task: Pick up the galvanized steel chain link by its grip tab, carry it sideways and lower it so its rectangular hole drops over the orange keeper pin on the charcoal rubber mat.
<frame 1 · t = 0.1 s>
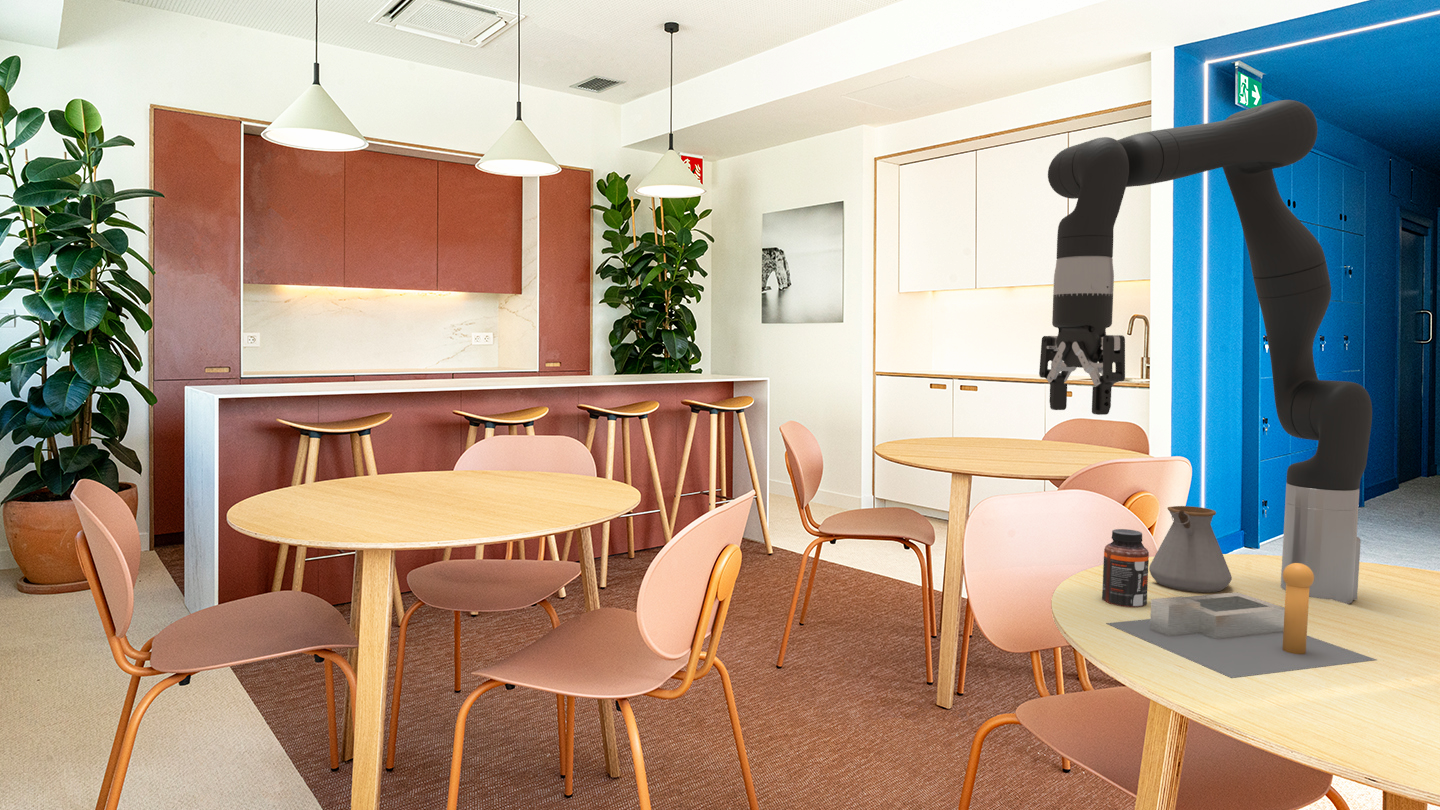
hand: (1078, 412, 120), 29 cm above the table, tool pointing down, fingers open, 8 cm apart
steel link: (1225, 625, 117), point 1 cm above the table, touching rubber mat
coffee pot: (1184, 598, 134), on the table
keeper pin: (1293, 658, 108), resting on rubber mat
supplement bottle: (1123, 609, 128), on the table
rubber mat: (1233, 648, 111), on the table
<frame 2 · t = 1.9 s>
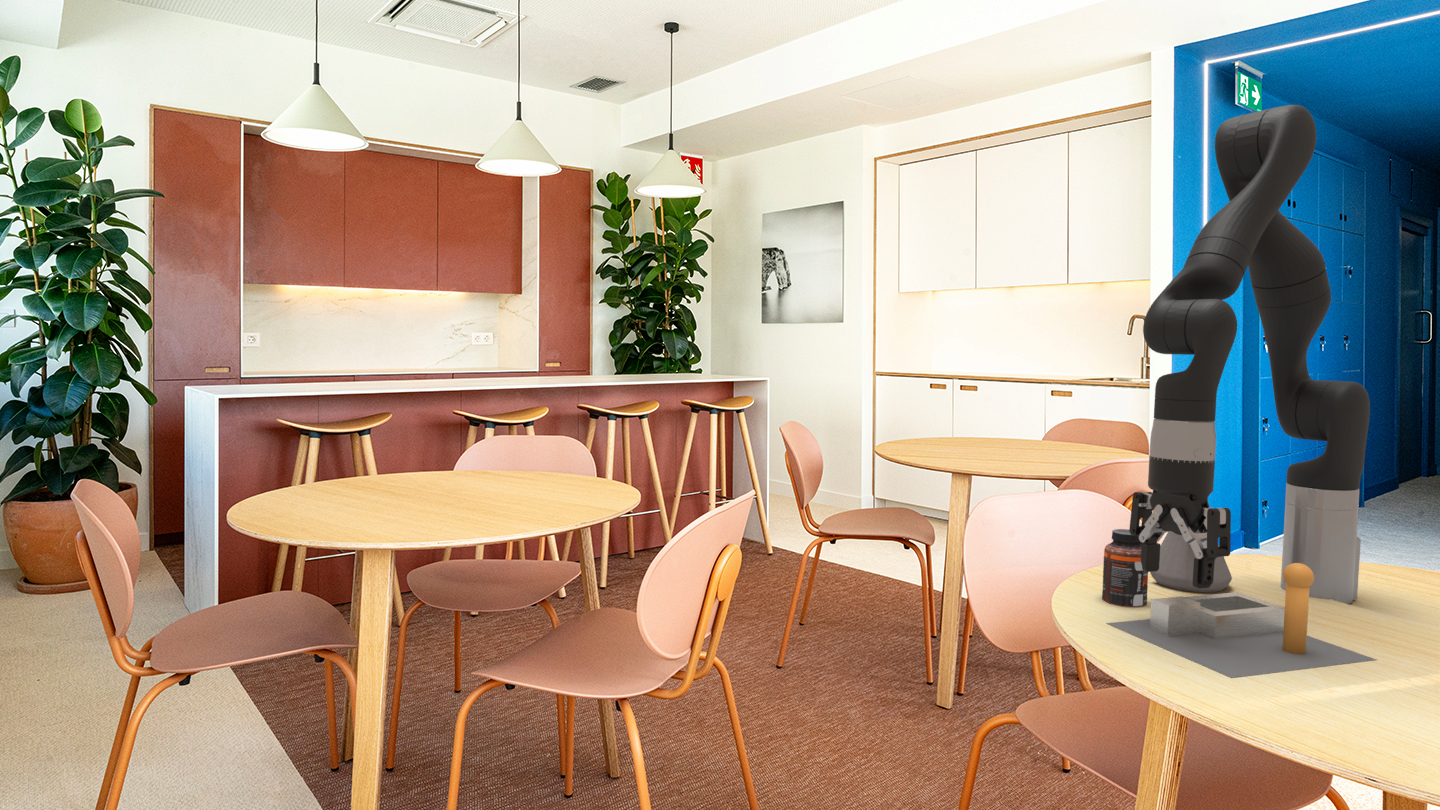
hand: (1174, 578, 114), 8 cm above the table, tool pointing down, fingers open, 8 cm apart
nothing on the table moved.
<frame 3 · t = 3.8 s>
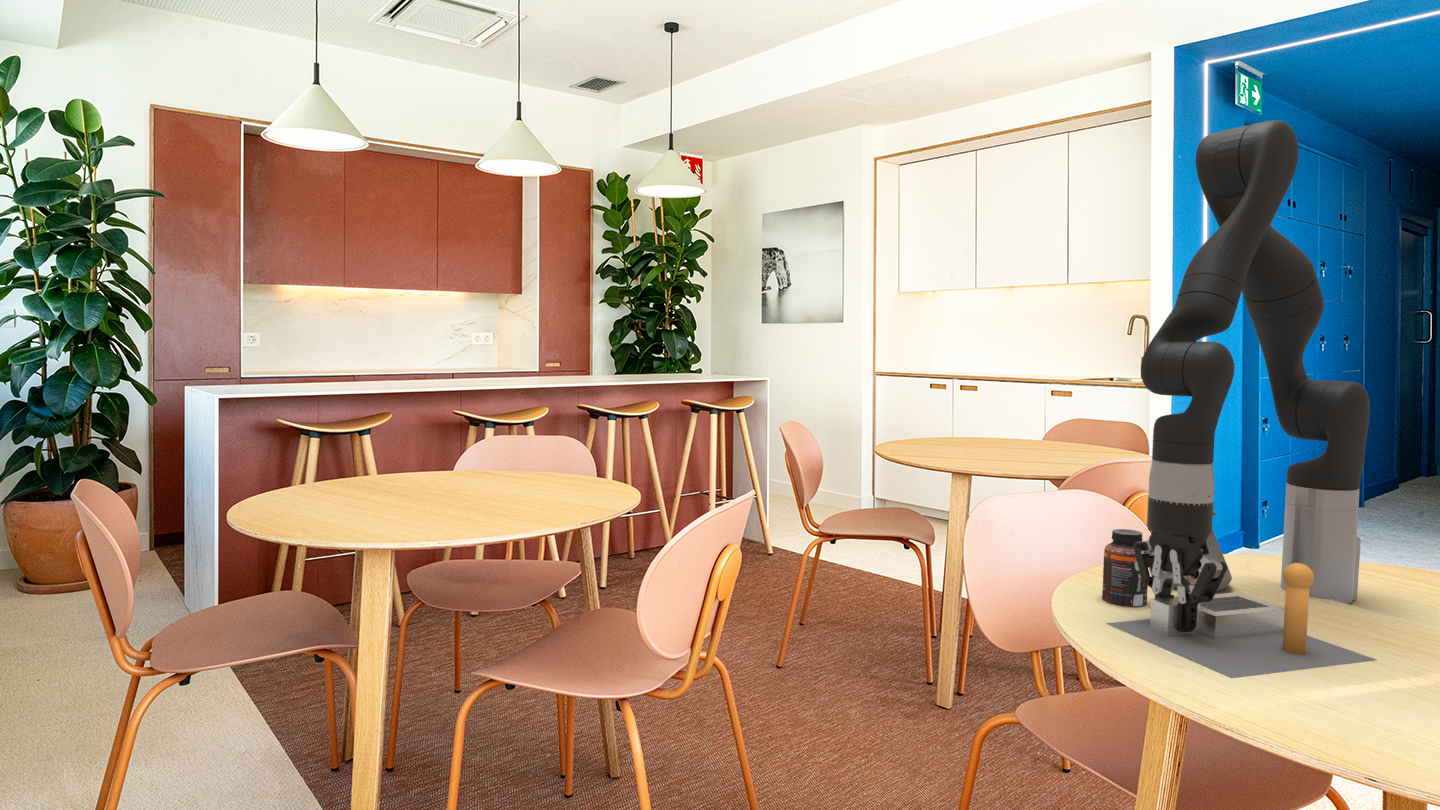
hand: (1174, 626, 115), 2 cm above the table, tool pointing down, fingers closed on steel link, 3 cm apart
steel link: (1225, 625, 117), point 1 cm above the table, touching gripper, rubber mat
everything else where it was.
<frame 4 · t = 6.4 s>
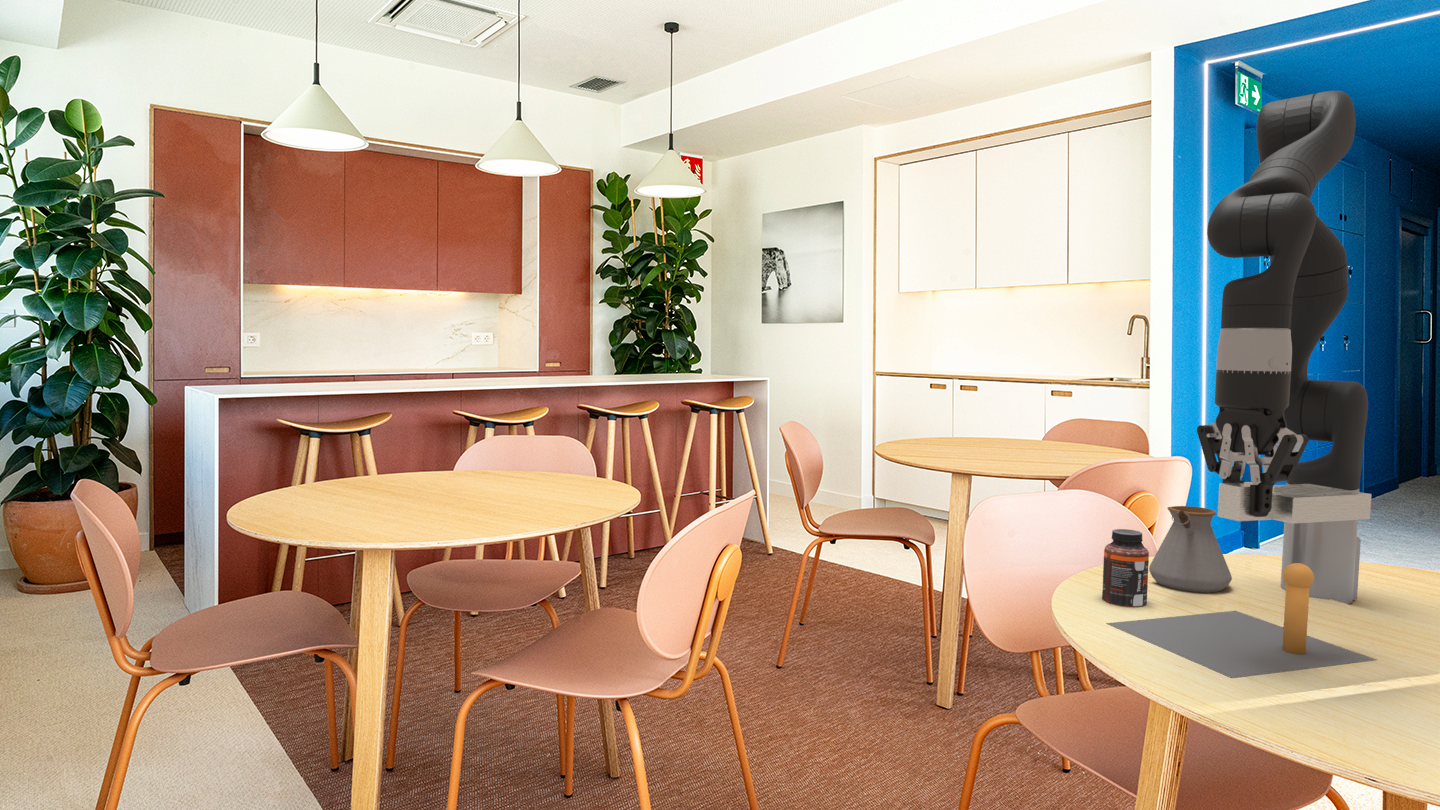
hand: (1245, 512, 104), 19 cm above the table, tool pointing down, fingers closed on steel link, 3 cm apart
steel link: (1300, 514, 107), point 18 cm above the table, touching gripper
everything else where it was.
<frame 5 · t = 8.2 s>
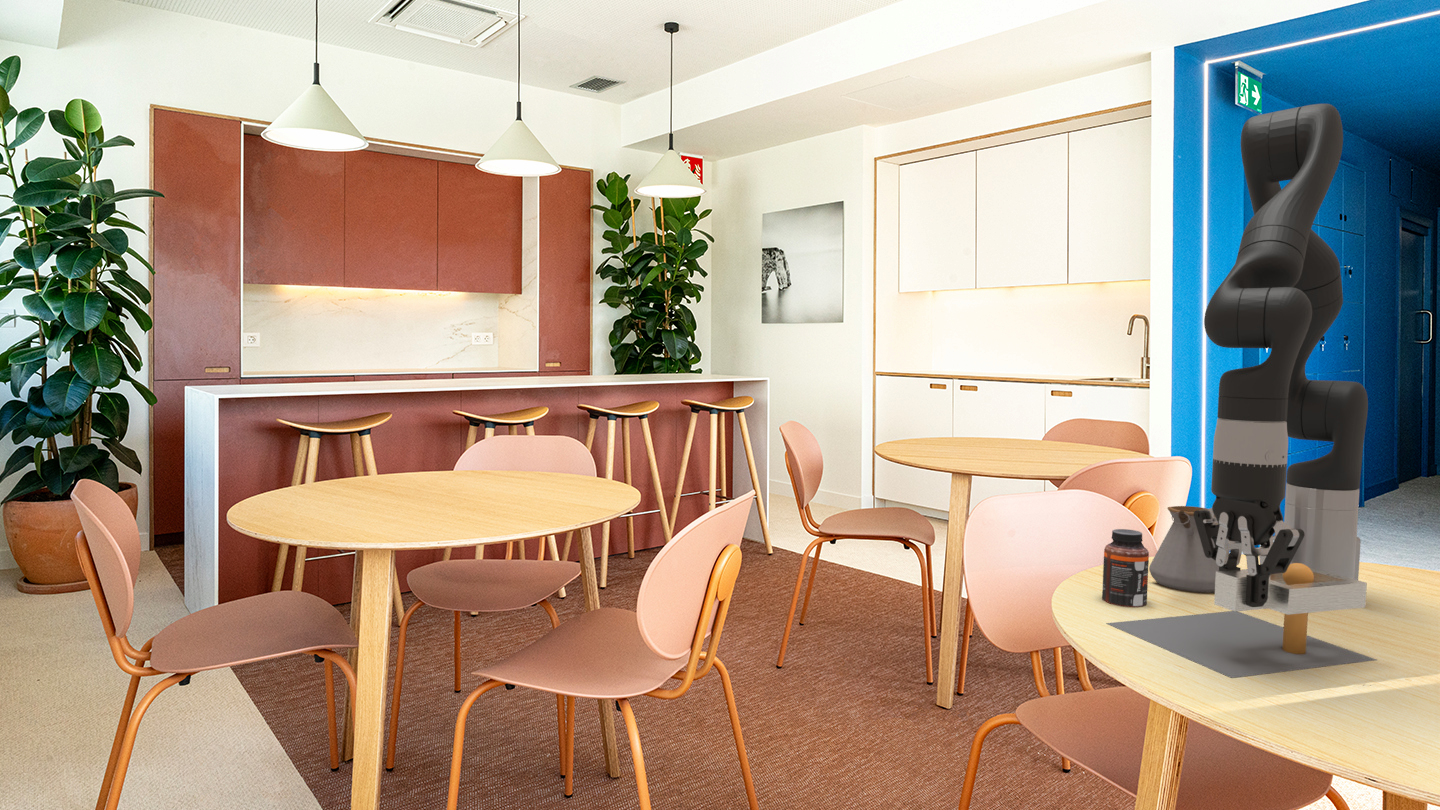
hand: (1241, 601, 105), 8 cm above the table, tool pointing down, fingers closed on steel link, 3 cm apart
steel link: (1296, 601, 107), point 7 cm above the table, touching gripper
everything else where it was.
when the fingers open (3 cm above the table, at t = 9.5 s): steel link stays where it is, resting on rubber mat.
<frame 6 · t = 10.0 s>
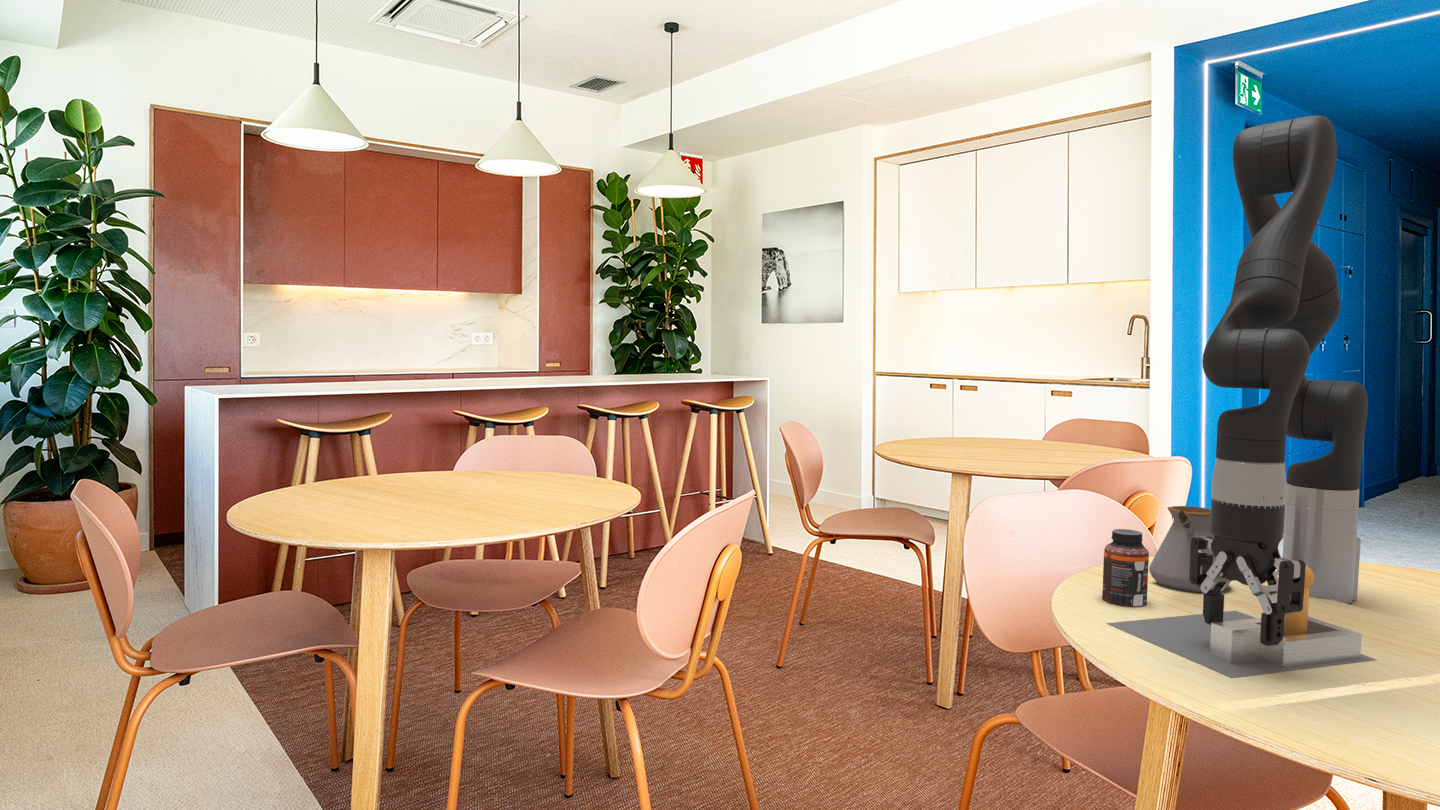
hand: (1240, 633, 105), 4 cm above the table, tool pointing down, fingers open, 7 cm apart
steel link: (1291, 651, 108), point 1 cm above the table, touching rubber mat
everything else where it was.
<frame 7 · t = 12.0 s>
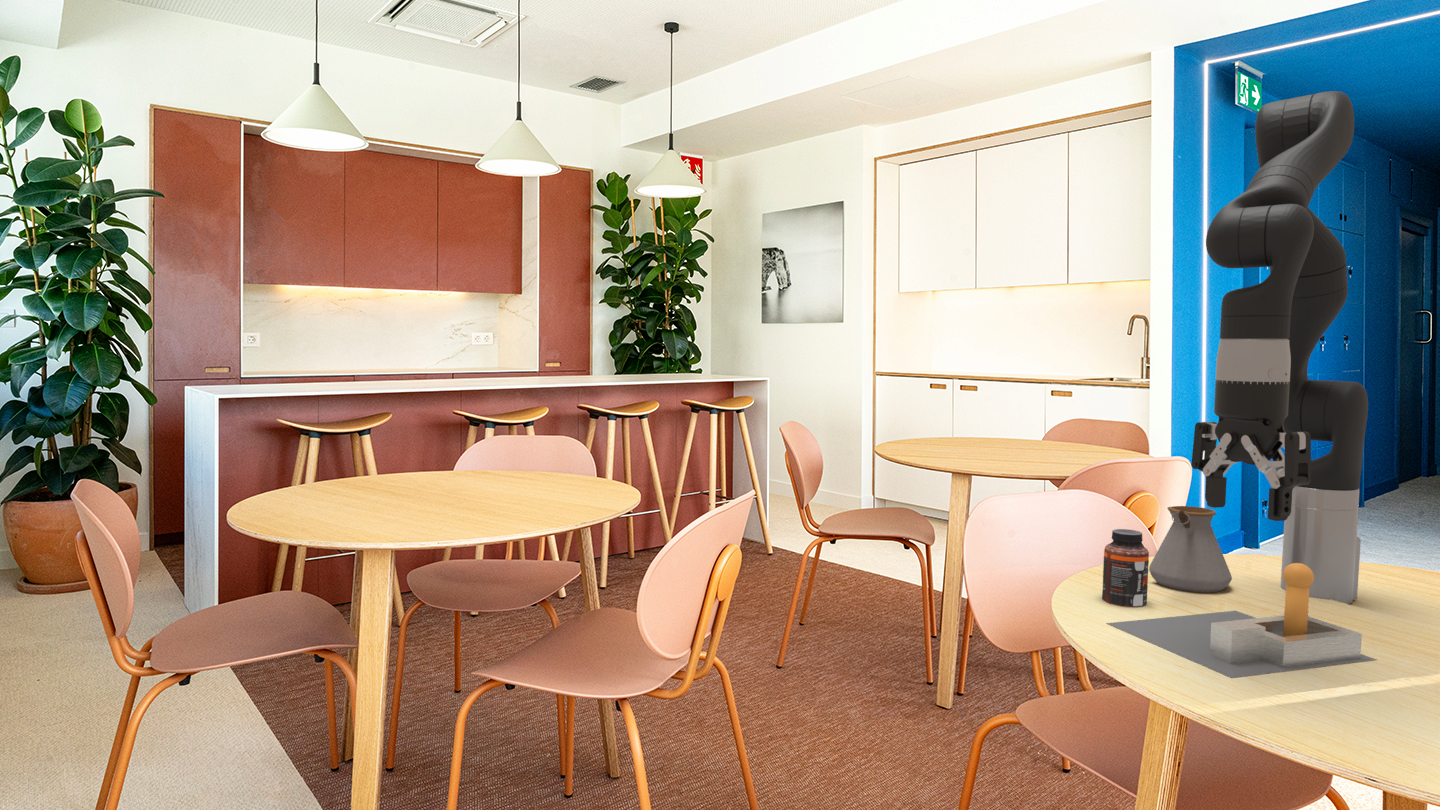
hand: (1245, 513, 105), 18 cm above the table, tool pointing down, fingers open, 8 cm apart
nothing on the table moved.
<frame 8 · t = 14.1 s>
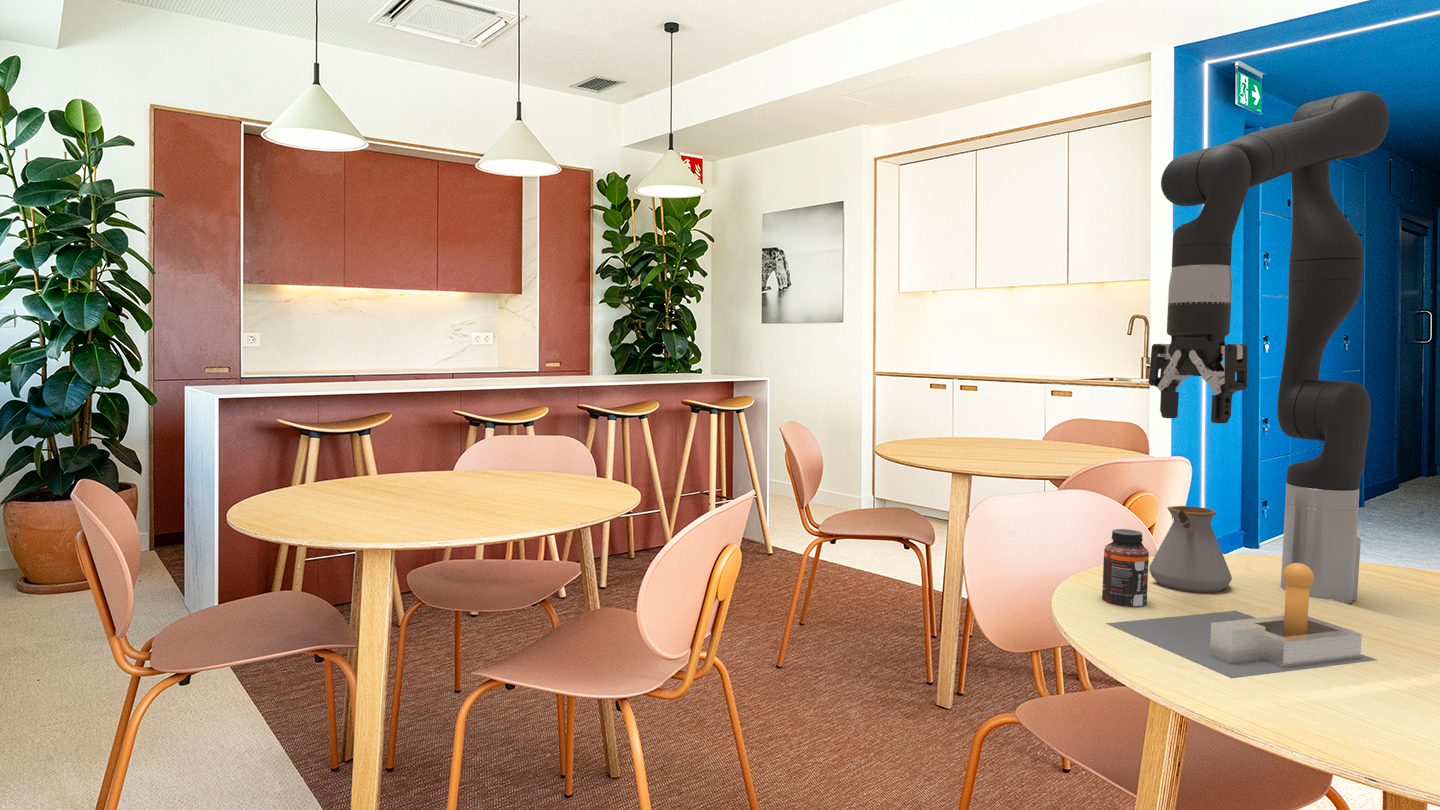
hand: (1193, 420, 120), 28 cm above the table, tool pointing down, fingers open, 8 cm apart
nothing on the table moved.
at the end: steel link 0.4 cm off-centre on the keeper pin, point 1.0 cm above the keeper pin's base; the gripper is holding nothing; steel link tilted 0° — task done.
